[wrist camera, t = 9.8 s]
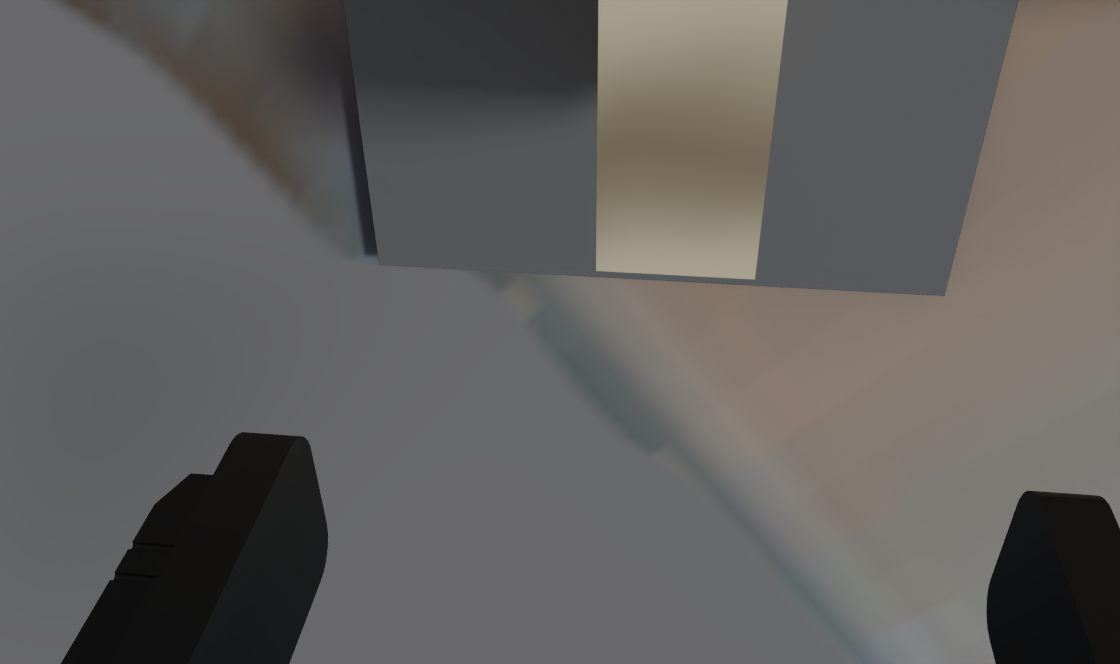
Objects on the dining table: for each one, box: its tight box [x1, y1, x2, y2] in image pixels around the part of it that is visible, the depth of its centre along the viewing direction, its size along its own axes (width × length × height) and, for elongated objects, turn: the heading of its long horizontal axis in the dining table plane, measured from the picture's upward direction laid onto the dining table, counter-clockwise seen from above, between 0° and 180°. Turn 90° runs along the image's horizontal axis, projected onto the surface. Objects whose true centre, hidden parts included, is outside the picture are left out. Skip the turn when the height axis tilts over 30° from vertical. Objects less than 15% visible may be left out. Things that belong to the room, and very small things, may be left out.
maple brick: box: [596, 0, 788, 280], centre depth 22 cm, size 6×3×4 cm, turn 1°
